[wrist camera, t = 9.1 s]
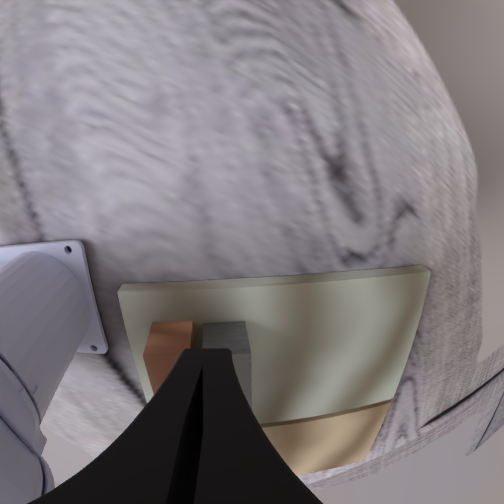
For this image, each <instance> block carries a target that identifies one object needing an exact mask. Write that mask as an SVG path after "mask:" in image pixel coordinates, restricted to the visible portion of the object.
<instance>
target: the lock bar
mask: <svg viewBox="0 0 504 504" xmlns="http://www.w3.org/2000/svg"><path fill="white" fill-rule="evenodd" d="M211 348H228V349H229V350H231V351H232V360H233V365H234V368H235V372H236V375H237V378H238V381H239V383H240V386H241V388H242V391H243V393H244V395H245V397H246V399H247V401H248V404H249V406H250V408H251V410H252V379H251V349H250V344H249V339H248V334H247V328H246V323H245V321H236V322H218V323H203V342H202V349H211Z"/></svg>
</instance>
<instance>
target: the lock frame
mask: <svg viewBox="0 0 504 504" xmlns="http://www.w3.org/2000/svg"><path fill="white" fill-rule="evenodd" d="M430 276H431V271H430V270H429V269H427V268H426V267H424V266H423V265H416V266H405V267H394V268H382V269H370V270H358V271H345V272H332V273H319V274H304V275H289V276H274V277H257V278H240V279H221V280H201V281H179V282H154V283H125V284H122V285H121V287H120V289H119V290H118V292H117V294H118V299H119V303H120V308H121V312H122V316H123V321H124V325H125V329H126V333H127V337H128V340H129V344H130V348H131V352H132V355H133V359H134V362H135V366H136V369H137V372H138V376H139V379H140V382H141V385H142V388H143V391H144V394H145V397H146V400H147V403H148V402H149V401H150V400H151V398H152V397H153V396H154V394H155V393H156V391H157V390H158V389H159V387H160V386H161V384H162V383H163V382H164V380H165V379H166V377H167V376H168V374H169V372H170V371H171V369H172V368H173V366H174V365H175V363H176V361H177V360H178V358H179V356H180V354H181V353H182V351H183V350H184V349H186V348H188V349H202V342H203V323H218V322H236V321H245V323H246V328H247V334H248V339H249V344H250V349H251V379H252V412H253V413H254V415H255V417H256V419H257V421H258V422H259V424H260V426H261V428H262V429H263V431H264V433H265V434H266V436H267V437H268V439H269V440H270V442H271V443H272V445H273V446H274V448H275V449H276V450H277V452H278V453H279V455H280V456H281V457H282V459H283V460H284V461H285V462H286V464H287V465H288V466H289V467H290V469H291V470H292V471H293V472H294V474H295V475H302V474H308V473H313V472H318V471H322V470H327V469H331V468H336V467H340V466H344V465H348V464H352V463H355V462H359V461H362V460H365V458H366V456H367V454H368V452H369V450H370V448H371V446H372V444H373V442H374V440H375V438H376V436H377V434H378V432H379V430H380V428H381V425H382V423H383V421H384V419H385V416H386V414H387V412H388V409H389V407H390V405H391V401H390V400H389V399H392V398H393V397H394V395H395V392H396V390H397V387H398V384H399V382H400V379H401V376H402V374H403V371H404V368H405V365H406V362H407V359H408V356H409V353H410V350H411V347H412V344H413V341H414V338H415V334H416V331H417V327H418V324H419V320H420V317H421V313H422V309H423V305H424V302H425V297H426V293H427V289H428V285H429V280H430Z"/></svg>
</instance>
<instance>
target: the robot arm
mask: <svg viewBox="0 0 504 504" xmlns="http://www.w3.org/2000/svg"><path fill="white" fill-rule="evenodd" d="M67 246H70V247H71V249H72V252H69V251H68V249H67ZM93 345H94V346H96V347H97V348H95V347H93ZM107 350H108V344H107V340H106V337H105V334H104V330H103V327H102V323H101V319H100V316H99V312H98V308H97V304H96V300H95V296H94V292H93V287H92V283H91V278H90V274H89V269H88V264H87V259H86V253H85V248H84V245H83V243H82V242H81V241H79V240H64V241H52V242H39V243H27V244H16V245H5V246H0V504H323V503H322V502H321V501H320V500H319V499H318V498H317V497H316V496H315V495H314V494H313V493H312V492H311V491H310V490H309V489H308V488H307V487H306V486H305V484H304V483H303V482H302V481H301V480H300V479H299V478H298V477H297V476H296V475H295V474H294V472H293V471H292V470H291V469H290V467H289V466H288V465H287V464H286V462H285V461H284V460H283V459H282V457H281V456H280V455H279V453H278V452H277V450H276V449H275V448H274V446H273V445H272V443H271V442H270V440H269V439H268V437H267V436H266V434H265V433H264V431H263V429H262V428H261V426H260V424H259V422H258V421H257V419H256V417H255V415H254V413H253V412H252V410H251V408H250V406H249V404H248V401H247V399H246V397H245V395H244V393H243V391H242V388H241V386H240V383H239V381H238V378H237V375H236V372H235V368H234V365H233V360H232V351H231V350H229V349H228V348H211V349H188V348H186V349H184V350H183V351H182V353H181V354H180V356H179V358H178V360H177V361H176V363H175V365H174V366H173V368H172V369H171V371H170V372H169V374H168V376H167V377H166V379H165V380H164V382H163V383H162V384H161V386H160V387H159V389H158V390H157V391H156V393H155V394H154V396H153V397H152V398H151V400H150V401H149V402H148V404H147V405H146V406H145V407H144V408H143V410H142V411H141V412H140V413H139V415H138V416H137V417H136V418H135V419H134V421H133V422H132V423H131V424H130V425H129V426H128V427H127V429H126V430H125V431H124V432H123V433H122V434H121V435H120V436H119V437H118V438H117V439H116V440H115V441H114V442H113V443H112V444H111V445H110V446H109V447H108V448H107V449H106V450H105V451H103V452H102V453H101V454H100V455H99V456H98V457H97V458H95V459H94V460H93V461H92V462H91V463H90V464H88V465H87V466H86V467H85V468H83V469H82V470H81V471H79V472H78V473H77V474H76V475H74V476H72V477H71V478H70V479H68V480H66V481H65V482H64V483H62V484H61V485H59V486H58V487H56V488H55V485H54V479H53V475H52V472H51V469H50V468H49V465H48V464H47V462H46V461H45V460H44V458H43V457H41V454H42V452H43V449H44V446H45V444H46V441H47V439H46V437H45V436H44V435H43V433H42V432H41V430H40V424H41V422H42V420H43V417H44V415H45V413H46V411H47V409H48V406H49V404H50V402H51V400H52V398H53V396H54V394H55V392H56V390H57V388H58V386H59V384H60V382H61V380H62V378H63V376H64V374H65V372H66V370H67V368H68V366H69V364H70V362H71V360H72V358H73V356H74V355H75V353H76V352H77V353H95V354H105V353H106V352H107Z"/></svg>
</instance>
